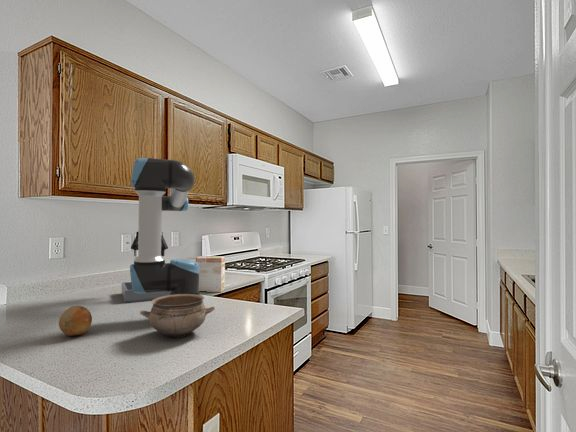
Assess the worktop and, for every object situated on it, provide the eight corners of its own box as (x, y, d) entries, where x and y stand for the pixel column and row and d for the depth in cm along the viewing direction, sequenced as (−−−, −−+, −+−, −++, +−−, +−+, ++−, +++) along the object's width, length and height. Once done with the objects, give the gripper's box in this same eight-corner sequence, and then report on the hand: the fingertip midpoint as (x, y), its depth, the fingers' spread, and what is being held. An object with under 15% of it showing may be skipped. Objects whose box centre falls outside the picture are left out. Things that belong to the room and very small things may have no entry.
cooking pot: (214, 323, 131) (214, 292, 131) (215, 340, 113) (215, 303, 113) (144, 328, 125) (145, 295, 125) (134, 346, 107) (134, 307, 107)
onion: (53, 341, 111) (54, 310, 111) (64, 332, 121) (65, 303, 121) (86, 339, 114) (87, 309, 114) (95, 329, 123) (95, 302, 123)
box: (125, 303, 163) (125, 290, 163) (121, 293, 184) (121, 282, 184) (177, 297, 175) (177, 286, 175) (168, 289, 196) (168, 279, 196)
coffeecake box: (224, 290, 196) (225, 256, 196) (221, 292, 189) (221, 257, 189) (199, 289, 197) (200, 255, 198) (195, 291, 190) (195, 257, 191)
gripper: (174, 222, 182) (174, 262, 181) (132, 222, 186) (132, 261, 185) (167, 222, 174) (167, 263, 174) (123, 222, 179) (123, 262, 178)
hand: (149, 262), depth 179 cm, fingers open, 13 cm apart
